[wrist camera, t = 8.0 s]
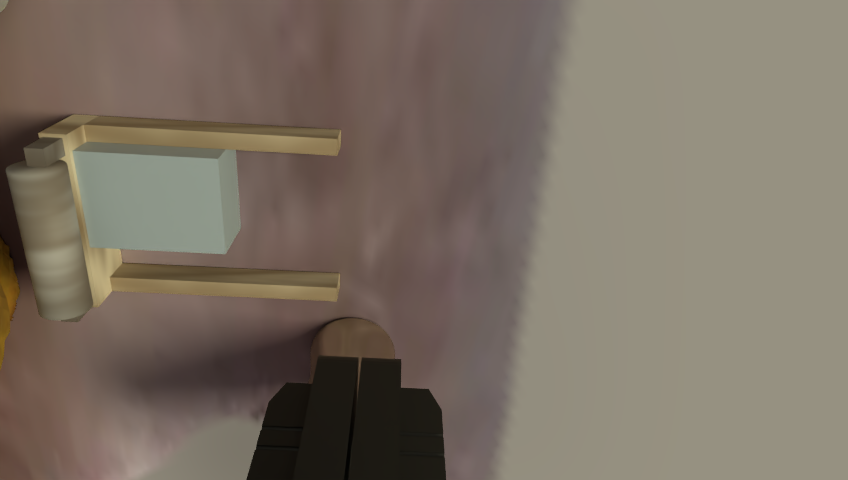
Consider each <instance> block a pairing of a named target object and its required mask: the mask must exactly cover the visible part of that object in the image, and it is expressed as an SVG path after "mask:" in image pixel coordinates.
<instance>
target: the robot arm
mask: <svg viewBox="0 0 848 480" xmlns="http://www.w3.org/2000/svg"><path fill="white" fill-rule="evenodd" d="M358 369H359V357H343V356H323V355H319V356H318V359H317V364H316V369H315V373H314V378H313V383H312V384H307V383H286V384H285V385H284V386H283V387H282V388H281V389H280V390H279V391H278V393H277V394H276V395H275V396H274V397H273V398H272V399H271V400H270V401H269V403H268V407H267V410H266V414H265V417H264V421H263V424H262V430H261V431H260V435H259V438H258V441H257V447H256V450H255V452H254V455H253V459H252V462H251V466H250V469H249V473H248V476H247V480H446V471H445V458H444V440H443V425H442V410H441V408H440V407H439V405H438V403H437V402H436V400H435V399H434V397H433V395H432V394H431V392H430V391H429V389H415V388H401V359H386V358H366V357H362V360H361V369H360V378H359V388H358ZM357 394H358V397H357Z"/></svg>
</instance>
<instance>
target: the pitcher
mask: <svg viewBox="0 0 848 480" xmlns="http://www.w3.org/2000/svg"><path fill="white" fill-rule="evenodd" d="M13 267H14V264H13V259H12V258H11V257H9V246H7V245H5V244H4V240H3V239H2V238H1V235H0V369H1V365H2V361H3V357H4V343H5V339H6V337H7V336H8V334H9V332H10V321H12V320H11V319H12V318H13V317H12V315H13V313H14V310H15V309H16V308H15V306H17V305H16V304H17V303H16V300H17V298H18V296H19V293H20V288H19V286H18V282H17V280H18V279H17V276H16V274H15V272H14V269H13Z"/></svg>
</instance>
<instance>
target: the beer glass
mask: <svg viewBox="0 0 848 480" xmlns="http://www.w3.org/2000/svg"><path fill="white" fill-rule="evenodd" d="M319 355H323V356H343V357H359V369H358V388H359V378H360V369H361V360H362V357H366V358H386V359H395V350H394V345H393V342H392V340H391V338H390V337H389V335H388V334H387V333H386V332H385V331H384V330H383V329H382V328H381V327H379V326H378V325H376V324H374V323H372V322H370V321H367V320H364V319H359V318H344V319H339V320H336V321H333V322H331V323H329V324H327V325H326V326H324V327H323V328H322V329H321V330H320V331H319V332H318V333H317V335H316V336H315V338H314V340H313V342H312V345H311V350H310V363H311V374H310V378H309V381H308V383H307V384H312V383H313V378H314V373H315V369H316V364H317V359H318V356H319ZM357 397H358V394H357Z"/></svg>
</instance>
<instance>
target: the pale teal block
mask: <svg viewBox="0 0 848 480" xmlns="http://www.w3.org/2000/svg"><path fill="white" fill-rule="evenodd" d="M72 152H73V157H74V163H75V168H76V174H77V179H78V185H79V190H80V195H81V201H82V206H83V212H84V217H85V223H86V228H87V234H88V239H89V245H90V248H111V249H131V250H152V251H172V252H192V253H213V254H226V253H227V251H228V249H229V247H230V246H231V244H232V242H233V241H234V239H235V237H236V236H237V234H238V232H239V230H240V229H241V223H240V208H239V193H238V178H237V163H236V150H228V149H210V148H192V147H174V146H156V145H138V144H120V143H102V142H86V143H84V144H82V145H81V146H79V147H78V148H76V149H75V150H73V151H72Z"/></svg>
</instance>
